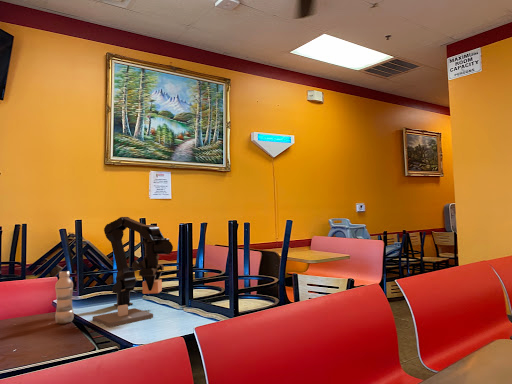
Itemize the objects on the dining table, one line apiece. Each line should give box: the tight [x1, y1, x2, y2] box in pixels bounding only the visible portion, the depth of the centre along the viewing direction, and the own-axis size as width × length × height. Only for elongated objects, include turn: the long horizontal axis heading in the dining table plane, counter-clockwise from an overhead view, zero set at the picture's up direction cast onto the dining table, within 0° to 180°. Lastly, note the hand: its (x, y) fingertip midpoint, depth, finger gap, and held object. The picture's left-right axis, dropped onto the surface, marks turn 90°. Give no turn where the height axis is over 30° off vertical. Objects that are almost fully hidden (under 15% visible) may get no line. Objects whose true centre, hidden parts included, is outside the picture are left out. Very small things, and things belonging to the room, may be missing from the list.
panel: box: [92, 305, 154, 328], centre depth 156 cm, size 16×18×5 cm
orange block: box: [142, 278, 163, 295], centre depth 173 cm, size 6×7×5 cm
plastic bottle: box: [54, 270, 75, 324], centre depth 153 cm, size 6×7×20 cm
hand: (152, 289), depth 173 cm, fingers closed on orange block, 6 cm apart
